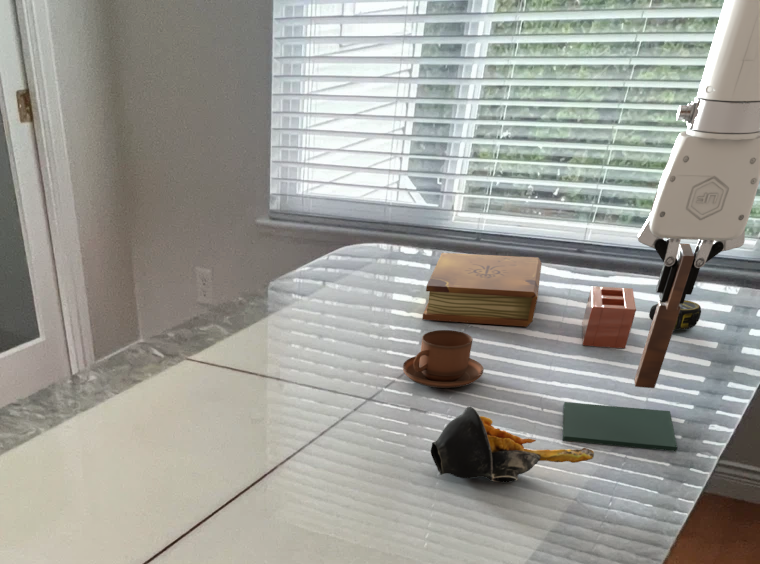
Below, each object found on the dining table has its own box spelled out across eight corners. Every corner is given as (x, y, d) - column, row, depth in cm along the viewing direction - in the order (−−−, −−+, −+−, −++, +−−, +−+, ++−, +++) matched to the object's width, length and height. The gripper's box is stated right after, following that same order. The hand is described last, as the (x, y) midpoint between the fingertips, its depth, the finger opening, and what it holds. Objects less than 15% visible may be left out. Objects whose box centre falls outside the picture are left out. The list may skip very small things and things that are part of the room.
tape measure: (644, 323, 146) (650, 300, 143) (680, 319, 146) (687, 296, 144) (666, 336, 141) (673, 312, 138) (703, 332, 141) (711, 308, 139)
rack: (622, 326, 145) (632, 288, 141) (625, 348, 137) (636, 309, 133) (582, 323, 147) (591, 286, 143) (582, 345, 138) (592, 306, 134)
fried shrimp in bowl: (417, 423, 106) (558, 367, 104) (441, 506, 110) (578, 455, 107) (432, 424, 98) (586, 364, 95) (457, 515, 101) (607, 459, 98)
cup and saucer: (460, 401, 123) (467, 357, 119) (387, 384, 128) (391, 342, 124) (494, 375, 130) (502, 333, 126) (423, 360, 135) (429, 320, 131)
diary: (531, 328, 145) (538, 292, 141) (422, 320, 150) (426, 285, 146) (536, 289, 161) (543, 256, 158) (437, 284, 166) (441, 251, 162)
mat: (668, 415, 117) (670, 411, 117) (675, 451, 109) (677, 447, 108) (563, 405, 121) (564, 401, 120) (562, 440, 112) (563, 436, 112)
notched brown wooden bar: (652, 377, 113) (695, 243, 102) (655, 393, 109) (700, 256, 98) (633, 375, 113) (673, 242, 103) (635, 391, 109) (678, 255, 98)
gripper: (654, 122, 91) (605, 304, 103) (814, 125, 87) (743, 313, 100) (649, 113, 96) (603, 287, 109) (800, 115, 93) (735, 295, 105)
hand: (671, 298), depth 104 cm, fingers closed on notched brown wooden bar, 1 cm apart
